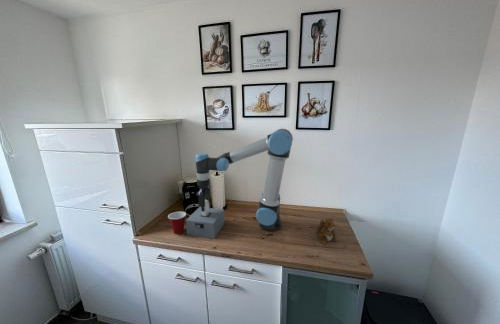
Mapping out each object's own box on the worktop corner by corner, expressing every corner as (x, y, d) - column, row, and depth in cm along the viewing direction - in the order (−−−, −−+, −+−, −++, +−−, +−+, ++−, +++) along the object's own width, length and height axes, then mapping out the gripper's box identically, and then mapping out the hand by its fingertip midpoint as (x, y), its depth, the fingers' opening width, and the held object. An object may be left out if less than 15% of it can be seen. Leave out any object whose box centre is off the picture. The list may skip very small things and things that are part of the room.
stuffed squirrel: (323, 245, 113) (325, 224, 109) (311, 231, 126) (313, 212, 123) (339, 243, 114) (342, 222, 111) (326, 229, 128) (327, 210, 125)
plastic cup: (190, 226, 132) (188, 210, 129) (184, 236, 122) (182, 219, 119) (174, 226, 133) (172, 210, 130) (166, 236, 122) (164, 218, 120)
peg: (210, 215, 130) (209, 199, 127) (207, 218, 126) (206, 202, 123) (204, 214, 131) (203, 199, 128) (201, 218, 127) (200, 202, 124)
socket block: (224, 222, 137) (224, 209, 134) (214, 238, 120) (213, 223, 117) (200, 219, 141) (199, 206, 138) (187, 234, 124) (185, 220, 121)
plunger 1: (208, 221, 127) (208, 218, 126) (201, 229, 118) (201, 226, 118) (201, 221, 128) (201, 217, 127) (195, 228, 119) (194, 225, 119)
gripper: (204, 174, 131) (206, 206, 137) (190, 183, 115) (193, 219, 120) (214, 174, 129) (216, 207, 135) (202, 184, 113) (205, 221, 119)
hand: (205, 213), depth 128 cm, fingers closed on peg, 4 cm apart
